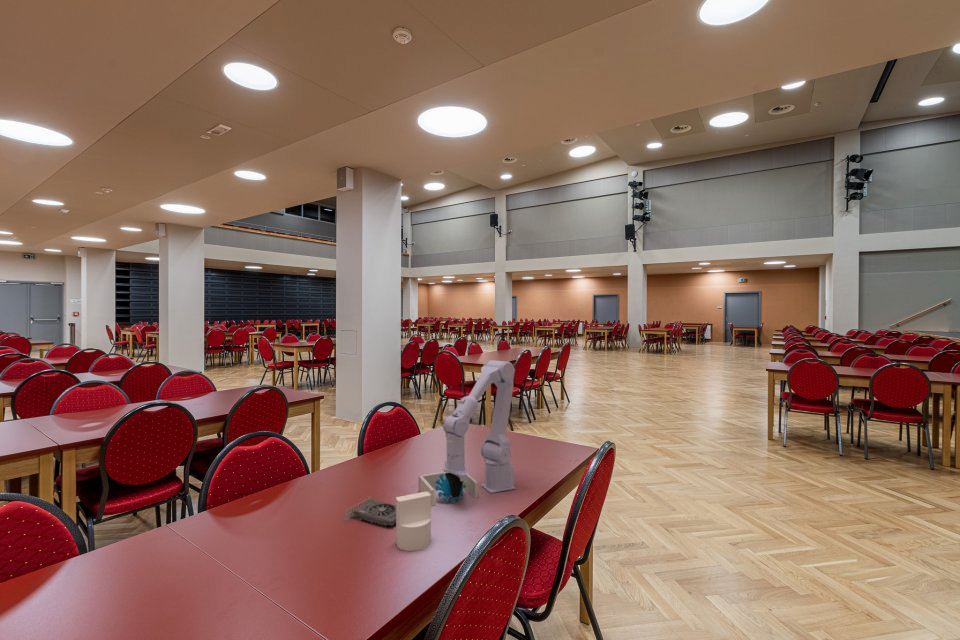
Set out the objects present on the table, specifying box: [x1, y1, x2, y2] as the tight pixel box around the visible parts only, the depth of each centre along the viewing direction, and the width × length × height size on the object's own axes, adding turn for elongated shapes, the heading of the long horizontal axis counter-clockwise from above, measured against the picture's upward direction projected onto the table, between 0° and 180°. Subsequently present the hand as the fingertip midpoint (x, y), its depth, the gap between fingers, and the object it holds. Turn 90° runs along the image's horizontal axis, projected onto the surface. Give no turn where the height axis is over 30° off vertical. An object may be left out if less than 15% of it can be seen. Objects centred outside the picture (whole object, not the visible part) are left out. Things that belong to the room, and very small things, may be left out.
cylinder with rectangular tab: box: [395, 491, 432, 552], centre depth 114 cm, size 9×9×12 cm
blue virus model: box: [434, 472, 467, 504], centre depth 143 cm, size 11×6×10 cm
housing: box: [418, 471, 479, 507], centre depth 146 cm, size 16×14×5 cm
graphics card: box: [343, 496, 396, 527], centre depth 128 cm, size 17×4×12 cm
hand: (455, 496), depth 139 cm, fingers closed
